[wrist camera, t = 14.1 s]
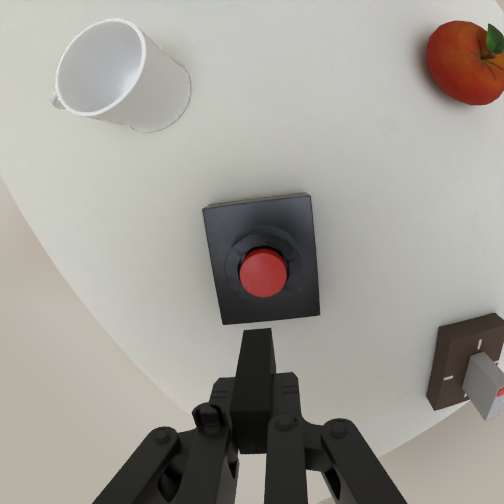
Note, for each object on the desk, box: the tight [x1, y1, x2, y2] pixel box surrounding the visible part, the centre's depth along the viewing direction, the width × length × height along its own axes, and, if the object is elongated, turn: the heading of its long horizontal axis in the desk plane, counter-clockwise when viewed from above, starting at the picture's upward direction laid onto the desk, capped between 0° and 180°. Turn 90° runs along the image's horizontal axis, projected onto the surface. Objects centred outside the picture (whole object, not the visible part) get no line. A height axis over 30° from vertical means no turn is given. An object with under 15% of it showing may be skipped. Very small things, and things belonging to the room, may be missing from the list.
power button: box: [240, 248, 287, 297], centre depth 28 cm, size 4×4×2 cm
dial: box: [462, 352, 504, 421], centre depth 28 cm, size 6×2×8 cm, turn 8°
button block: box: [202, 193, 320, 325], centre depth 31 cm, size 12×10×5 cm
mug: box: [50, 18, 191, 132], centre depth 24 cm, size 12×8×12 cm
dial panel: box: [426, 313, 504, 411], centre depth 33 cm, size 12×10×4 cm
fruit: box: [427, 21, 504, 105], centre depth 21 cm, size 10×10×10 cm
